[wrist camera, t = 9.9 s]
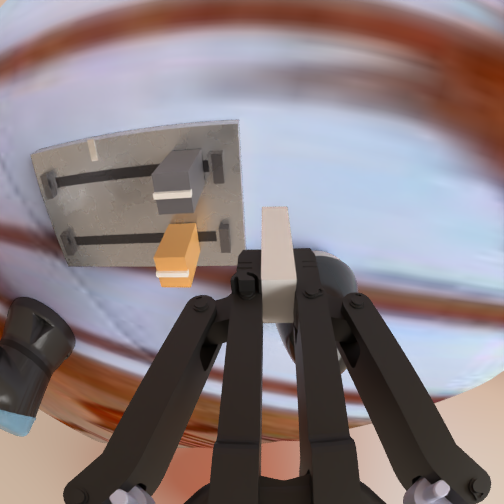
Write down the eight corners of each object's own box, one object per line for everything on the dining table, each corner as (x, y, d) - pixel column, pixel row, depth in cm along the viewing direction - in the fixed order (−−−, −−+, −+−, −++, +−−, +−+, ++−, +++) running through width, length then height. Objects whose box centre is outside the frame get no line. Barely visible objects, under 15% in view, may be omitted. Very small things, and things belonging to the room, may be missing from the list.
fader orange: (174, 251, 35) (160, 289, 29) (168, 224, 32) (152, 259, 27) (200, 251, 34) (190, 289, 29) (196, 223, 32) (184, 259, 27)
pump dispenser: (261, 296, 41) (261, 398, 29) (279, 230, 35) (288, 336, 23) (333, 305, 42) (353, 402, 30) (361, 244, 36) (401, 344, 24)
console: (75, 258, 38) (66, 272, 36) (39, 147, 29) (25, 156, 26) (246, 256, 37) (245, 272, 35) (239, 117, 28) (236, 123, 25)
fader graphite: (175, 185, 30) (157, 216, 25) (170, 151, 28) (149, 176, 23) (205, 183, 30) (193, 215, 25) (201, 148, 28) (187, 173, 22)
